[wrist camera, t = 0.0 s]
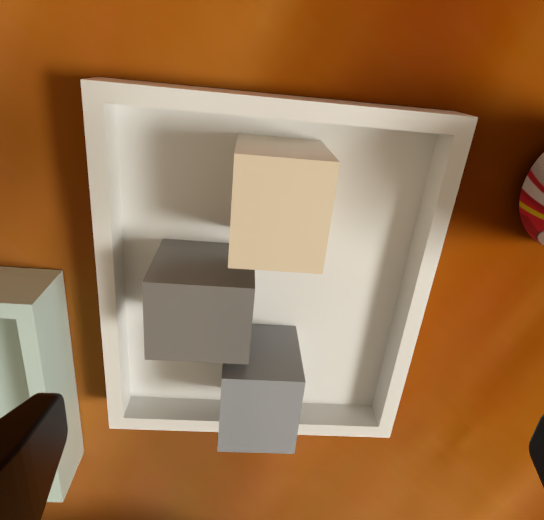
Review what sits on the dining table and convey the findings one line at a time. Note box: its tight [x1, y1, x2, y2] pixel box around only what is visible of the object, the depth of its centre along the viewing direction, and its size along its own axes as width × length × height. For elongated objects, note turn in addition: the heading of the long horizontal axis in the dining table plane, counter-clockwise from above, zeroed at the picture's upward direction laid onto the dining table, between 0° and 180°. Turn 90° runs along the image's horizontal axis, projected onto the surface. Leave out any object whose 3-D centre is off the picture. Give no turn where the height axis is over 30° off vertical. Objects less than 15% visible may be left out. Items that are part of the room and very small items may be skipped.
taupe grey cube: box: [142, 239, 255, 364], centre depth 20 cm, size 4×4×5 cm
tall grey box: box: [217, 324, 306, 454], centre depth 23 cm, size 4×4×5 cm
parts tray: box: [80, 77, 478, 438], centre depth 22 cm, size 18×16×2 cm
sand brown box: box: [228, 133, 340, 274], centre depth 19 cm, size 4×4×5 cm
